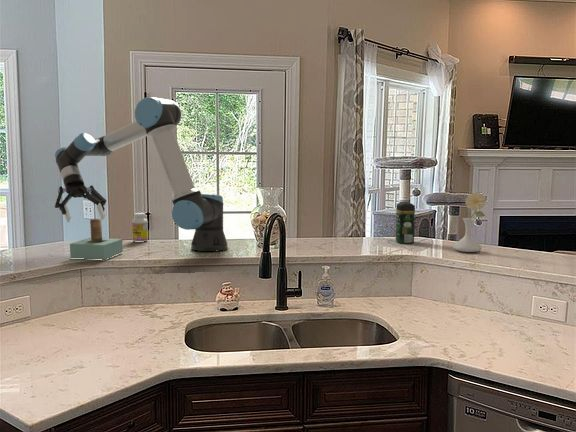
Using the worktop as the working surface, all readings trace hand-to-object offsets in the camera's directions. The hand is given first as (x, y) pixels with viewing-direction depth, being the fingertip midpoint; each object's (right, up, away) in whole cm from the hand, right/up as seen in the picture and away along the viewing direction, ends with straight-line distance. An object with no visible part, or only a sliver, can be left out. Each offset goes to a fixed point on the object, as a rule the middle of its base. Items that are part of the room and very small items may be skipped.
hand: (86, 218), depth 217 cm
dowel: (+7, -14, -6) cm, 17 cm away
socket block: (+7, -15, -6) cm, 17 cm away
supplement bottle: (+14, -11, +28) cm, 33 cm away
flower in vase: (+156, -14, +9) cm, 157 cm away
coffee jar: (+134, -11, +30) cm, 138 cm away
